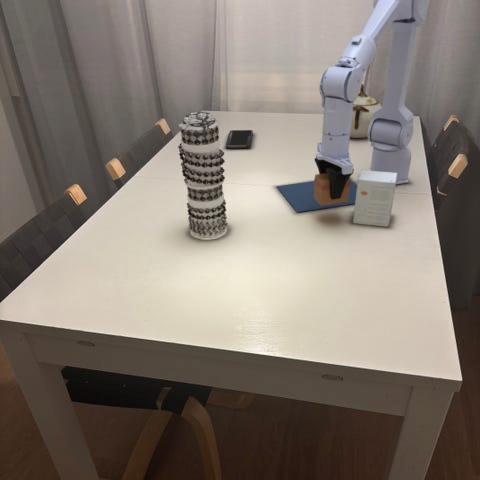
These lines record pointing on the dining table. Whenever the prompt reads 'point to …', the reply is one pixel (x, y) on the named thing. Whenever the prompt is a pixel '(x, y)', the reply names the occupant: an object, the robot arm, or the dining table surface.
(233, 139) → the phone
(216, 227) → the decorative candle
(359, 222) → the small box
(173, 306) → the dining table surface
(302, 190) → the napkin
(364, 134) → the sugar bowl
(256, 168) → the dining table surface
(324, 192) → the packet
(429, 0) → the robot arm
